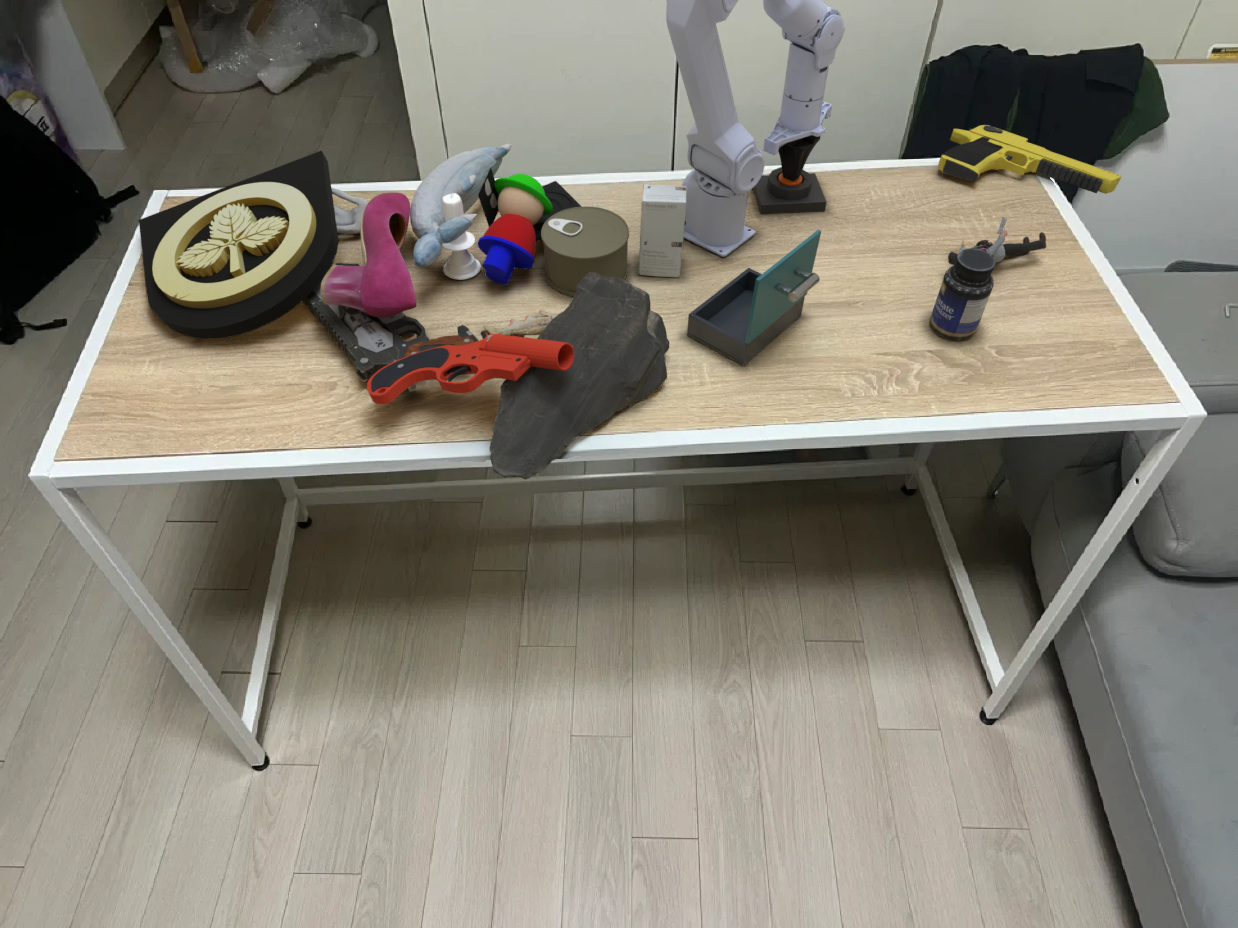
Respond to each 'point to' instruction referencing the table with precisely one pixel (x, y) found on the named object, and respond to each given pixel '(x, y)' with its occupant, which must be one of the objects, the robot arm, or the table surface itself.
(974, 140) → the handgun
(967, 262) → the pill bottle
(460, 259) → the candle
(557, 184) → the light switch
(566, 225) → the can
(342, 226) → the figurine
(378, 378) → the flare gun
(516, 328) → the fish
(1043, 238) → the action figure
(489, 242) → the toy figure
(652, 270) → the cosmetic box
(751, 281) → the dark gray box base
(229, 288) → the decorative plaque
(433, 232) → the sculpture
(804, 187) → the block
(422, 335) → the fictional weapon
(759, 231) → the table surface
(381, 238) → the high heel
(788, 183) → the button
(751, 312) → the teal flat panel
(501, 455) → the stone
